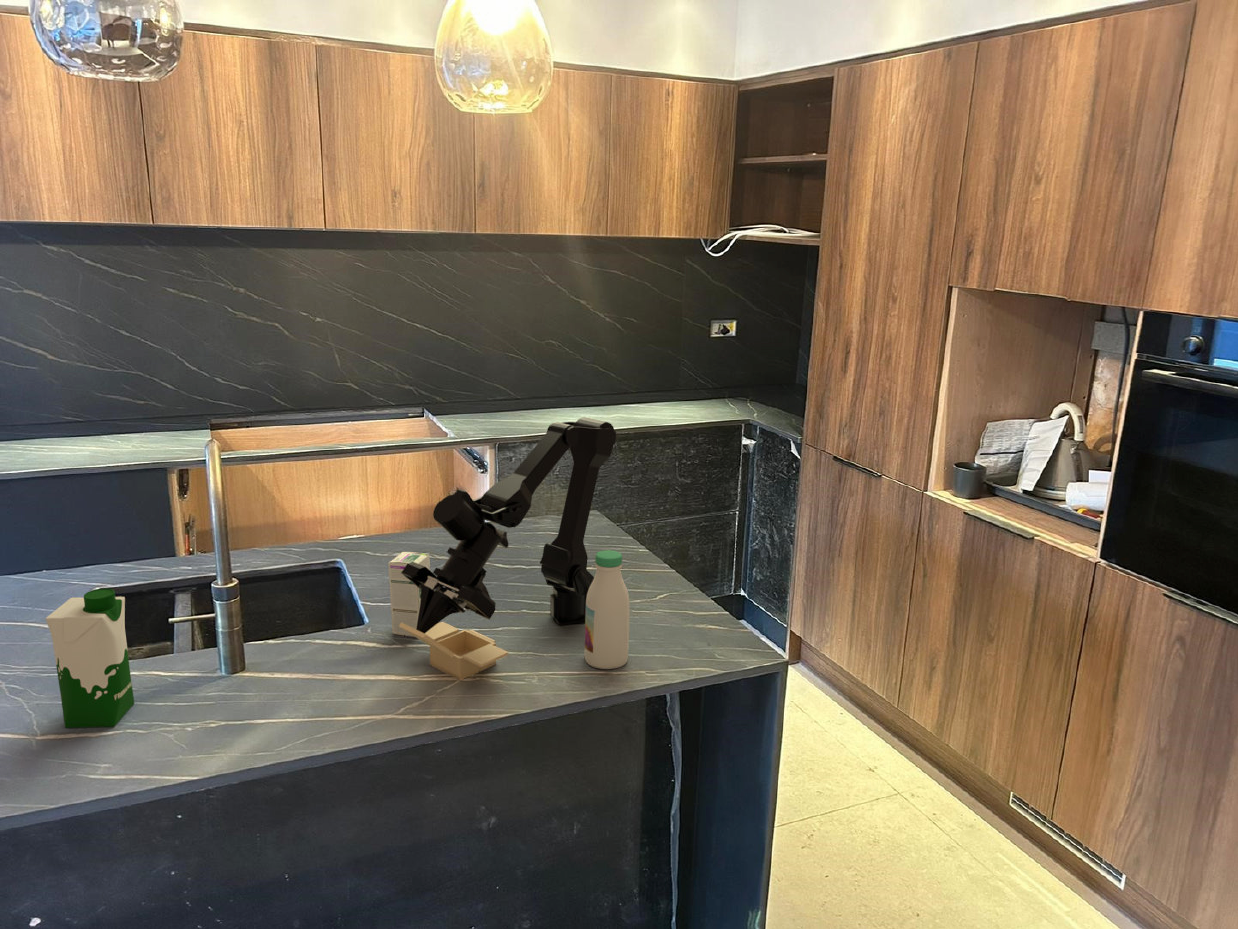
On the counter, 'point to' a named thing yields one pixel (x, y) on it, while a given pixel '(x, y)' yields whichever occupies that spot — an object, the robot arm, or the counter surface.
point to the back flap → (426, 639)
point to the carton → (463, 651)
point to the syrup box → (405, 592)
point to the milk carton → (92, 659)
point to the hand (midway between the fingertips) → (419, 633)
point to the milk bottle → (607, 614)
